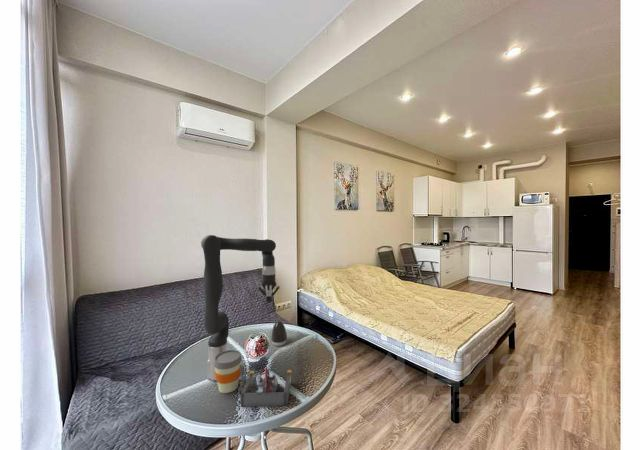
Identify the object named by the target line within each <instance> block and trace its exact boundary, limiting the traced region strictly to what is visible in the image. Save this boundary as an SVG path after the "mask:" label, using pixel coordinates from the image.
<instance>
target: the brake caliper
mask: <svg viewBox="0 0 640 450" xmlns="http://www.w3.org/2000/svg"><path fill="white" fill-rule="evenodd" d="M255 380H256V386H257V390H256V391H255V393H265V392H277V390H278V382H279V381H278V379H277V377H276V375H275V374H272V376H270V371H269V369H268V367H267V366H265V367H264V374H262V375H261V374H259V375H256V378H255Z"/></svg>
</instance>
